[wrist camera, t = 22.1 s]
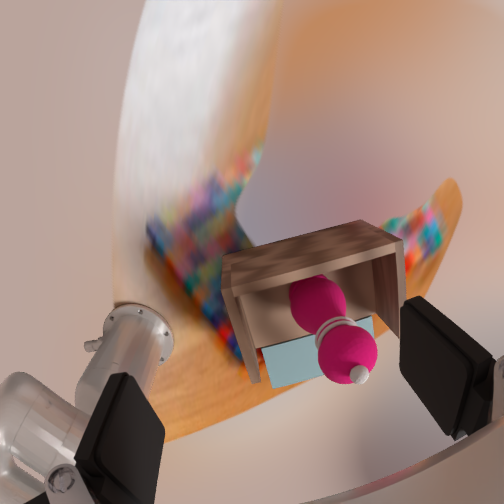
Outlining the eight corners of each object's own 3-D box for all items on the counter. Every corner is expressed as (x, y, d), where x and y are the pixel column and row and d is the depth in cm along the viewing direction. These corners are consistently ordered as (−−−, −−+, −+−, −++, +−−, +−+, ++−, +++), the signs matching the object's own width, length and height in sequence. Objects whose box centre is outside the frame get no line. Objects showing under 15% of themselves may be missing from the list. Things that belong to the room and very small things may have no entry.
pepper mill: (341, 298, 44) (404, 382, 25) (298, 322, 44) (338, 419, 25) (321, 258, 42) (388, 331, 23) (276, 283, 42) (310, 375, 23)
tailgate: (260, 343, 47) (271, 382, 49) (261, 348, 45) (272, 388, 47) (367, 312, 47) (371, 352, 49) (371, 316, 45) (375, 357, 47)
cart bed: (246, 333, 50) (251, 384, 38) (222, 255, 46) (220, 290, 33) (370, 298, 50) (406, 335, 38) (360, 219, 46) (402, 240, 33)
